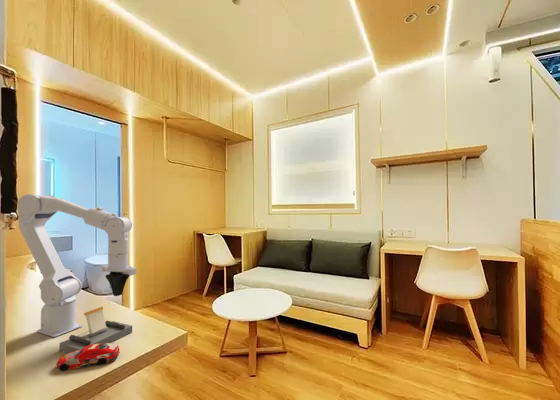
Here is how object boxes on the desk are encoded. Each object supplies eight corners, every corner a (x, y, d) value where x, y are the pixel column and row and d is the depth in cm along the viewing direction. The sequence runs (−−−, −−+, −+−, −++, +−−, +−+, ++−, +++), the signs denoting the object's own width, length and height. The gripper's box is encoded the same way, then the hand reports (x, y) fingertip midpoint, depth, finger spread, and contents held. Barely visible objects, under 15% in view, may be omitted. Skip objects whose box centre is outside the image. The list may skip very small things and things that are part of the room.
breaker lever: (88, 337, 75) (83, 313, 76) (105, 330, 79) (100, 307, 80) (91, 336, 74) (86, 312, 75) (108, 329, 79) (103, 306, 80)
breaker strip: (59, 350, 71) (59, 338, 71) (112, 327, 85) (113, 317, 85) (80, 357, 68) (80, 345, 68) (132, 332, 82) (132, 321, 82)
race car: (51, 374, 62) (51, 357, 62) (63, 361, 67) (63, 346, 67) (115, 364, 65) (115, 348, 65) (121, 353, 71) (121, 338, 71)
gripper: (91, 254, 85) (90, 296, 85) (122, 257, 79) (121, 302, 79) (112, 250, 91) (112, 289, 91) (142, 253, 86) (141, 295, 85)
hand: (117, 295), depth 85 cm, fingers closed
